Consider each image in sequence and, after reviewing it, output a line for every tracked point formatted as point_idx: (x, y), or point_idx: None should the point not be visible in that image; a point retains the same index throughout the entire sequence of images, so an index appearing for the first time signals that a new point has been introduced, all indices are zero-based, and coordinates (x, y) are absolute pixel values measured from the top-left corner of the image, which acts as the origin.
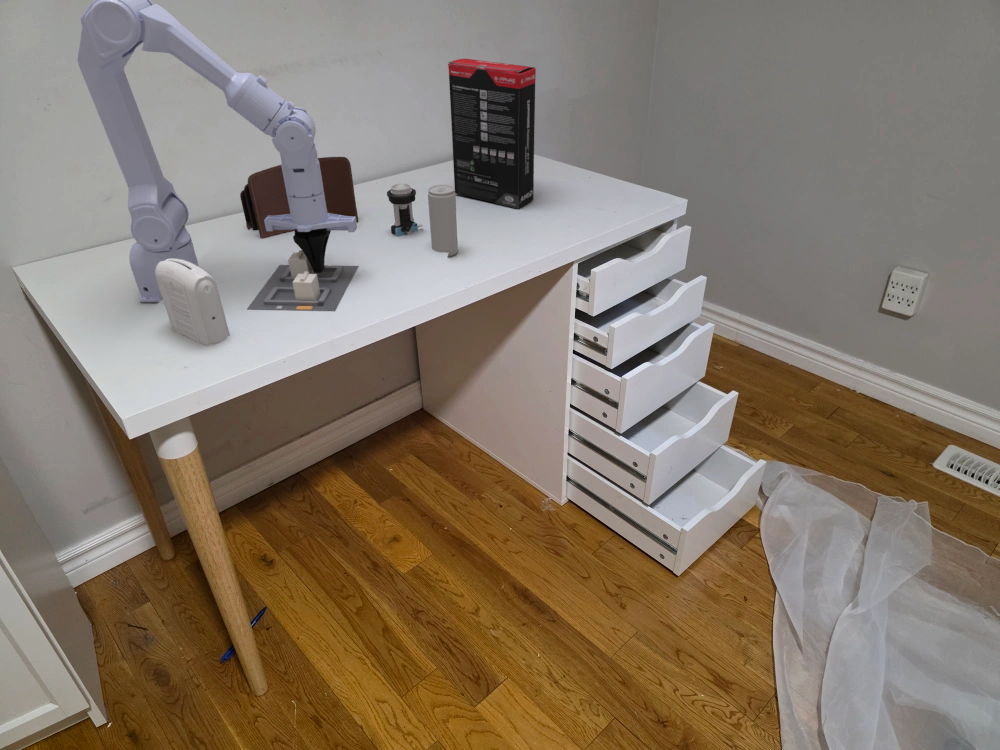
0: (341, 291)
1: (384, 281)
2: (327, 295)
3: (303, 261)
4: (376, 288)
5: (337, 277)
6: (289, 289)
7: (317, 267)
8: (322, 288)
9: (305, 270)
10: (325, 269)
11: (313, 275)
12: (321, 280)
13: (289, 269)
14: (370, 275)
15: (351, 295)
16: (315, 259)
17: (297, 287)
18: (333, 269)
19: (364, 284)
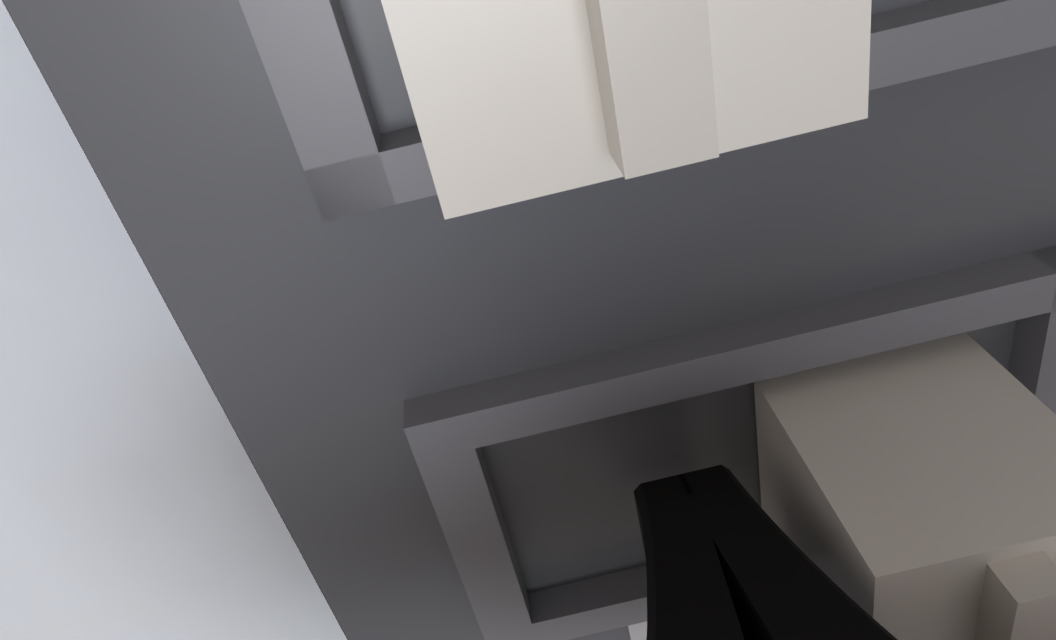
0: (183, 229)
1: (41, 597)
2: (250, 12)
3: (906, 549)
4: (3, 478)
5: (429, 481)
6: (924, 18)
7: (683, 526)
8: None
9: (832, 447)
10: None
11: (479, 133)
12: (583, 376)
13: None
14: (254, 635)
15: None
16: (725, 624)
17: None
18: (575, 595)
19: (190, 505)
